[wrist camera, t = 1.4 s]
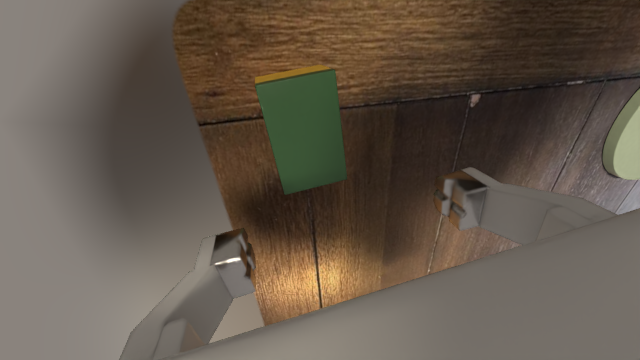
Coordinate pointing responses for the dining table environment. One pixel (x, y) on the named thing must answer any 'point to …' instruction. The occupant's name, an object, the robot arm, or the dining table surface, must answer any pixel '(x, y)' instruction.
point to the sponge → (303, 126)
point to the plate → (624, 142)
